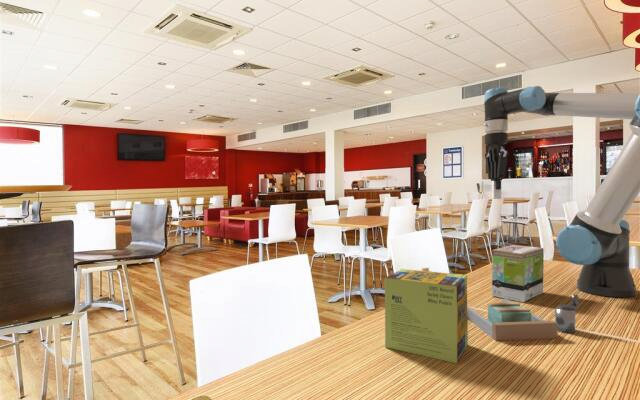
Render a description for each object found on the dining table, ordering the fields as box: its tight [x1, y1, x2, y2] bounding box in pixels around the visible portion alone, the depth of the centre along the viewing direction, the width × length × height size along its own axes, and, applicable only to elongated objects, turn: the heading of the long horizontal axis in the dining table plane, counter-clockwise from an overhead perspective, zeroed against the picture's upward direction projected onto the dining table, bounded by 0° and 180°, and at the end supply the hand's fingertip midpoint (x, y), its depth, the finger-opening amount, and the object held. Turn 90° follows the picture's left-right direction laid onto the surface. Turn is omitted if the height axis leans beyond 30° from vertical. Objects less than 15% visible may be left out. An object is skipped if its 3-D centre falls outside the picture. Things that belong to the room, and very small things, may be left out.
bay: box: [467, 298, 558, 341], centre depth 96 cm, size 14×22×4 cm, turn 2°
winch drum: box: [554, 294, 579, 334], centre depth 90 cm, size 5×4×8 cm
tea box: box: [491, 244, 545, 303], centre depth 119 cm, size 15×10×15 cm, turn 131°
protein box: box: [384, 268, 469, 364], centre depth 83 cm, size 10×15×16 cm
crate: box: [487, 301, 532, 323], centre depth 92 cm, size 7×7×6 cm
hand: (496, 198), depth 138 cm, fingers closed
